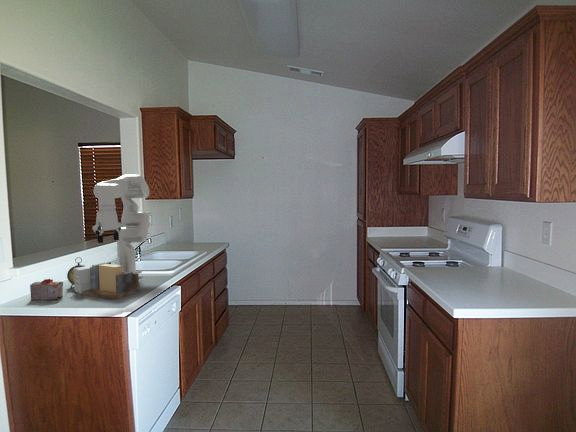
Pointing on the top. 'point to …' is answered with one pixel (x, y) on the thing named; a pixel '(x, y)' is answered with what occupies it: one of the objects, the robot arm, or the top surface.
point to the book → (108, 276)
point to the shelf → (124, 284)
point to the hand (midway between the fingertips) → (108, 241)
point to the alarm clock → (71, 273)
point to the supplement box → (82, 279)
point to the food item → (46, 290)
